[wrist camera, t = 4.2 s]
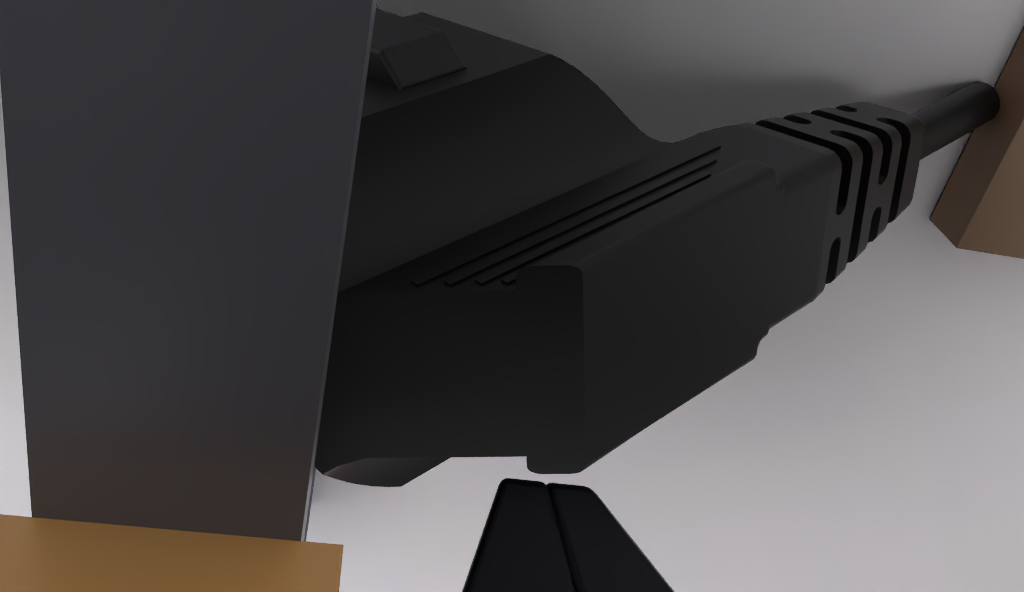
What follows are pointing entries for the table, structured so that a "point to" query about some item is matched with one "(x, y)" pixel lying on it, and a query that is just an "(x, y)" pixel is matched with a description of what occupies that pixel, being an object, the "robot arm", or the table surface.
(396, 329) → the power plug
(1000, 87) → the walnut pad
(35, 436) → the grey arch frame
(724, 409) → the table surface
